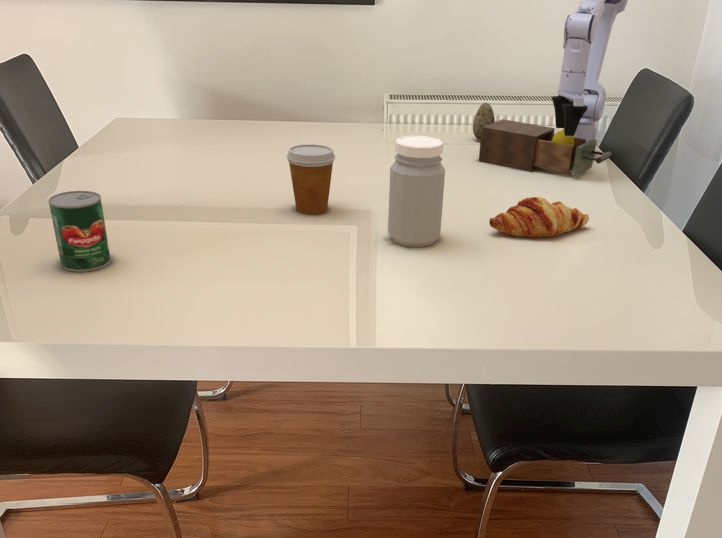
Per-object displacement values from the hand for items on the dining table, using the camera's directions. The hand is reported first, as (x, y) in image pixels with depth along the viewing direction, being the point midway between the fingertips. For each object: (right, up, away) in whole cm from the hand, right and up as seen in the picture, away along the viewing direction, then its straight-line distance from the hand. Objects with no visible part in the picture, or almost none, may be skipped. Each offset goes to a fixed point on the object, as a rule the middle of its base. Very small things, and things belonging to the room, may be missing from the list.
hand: (564, 131), depth 179 cm
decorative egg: (-16, +6, +28) cm, 33 cm away
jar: (-37, -33, -39) cm, 63 cm away
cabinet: (-10, -4, +10) cm, 15 cm away
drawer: (+1, -8, +3) cm, 9 cm away
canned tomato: (-92, -39, -54) cm, 114 cm away
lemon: (0, -6, +4) cm, 8 cm away
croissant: (-13, -30, -33) cm, 46 cm away
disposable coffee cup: (-58, -25, -27) cm, 68 cm away
